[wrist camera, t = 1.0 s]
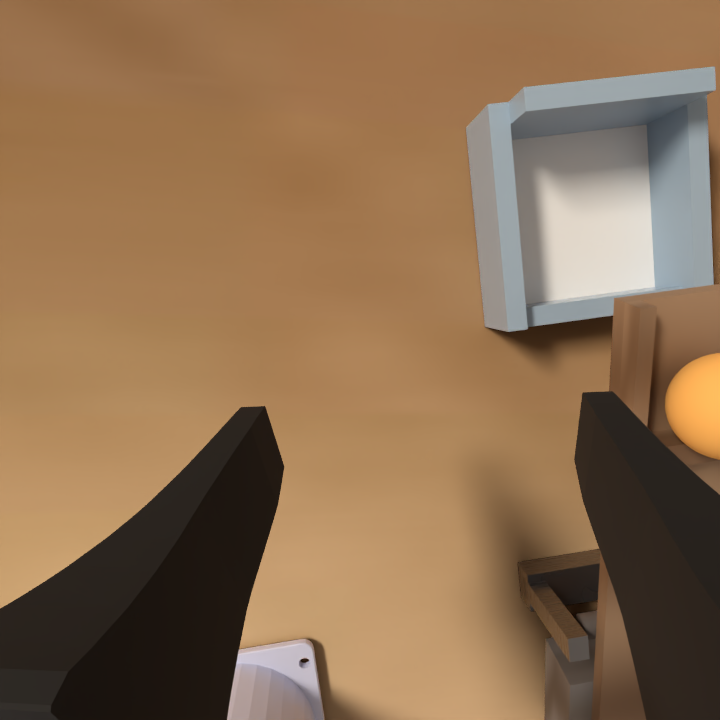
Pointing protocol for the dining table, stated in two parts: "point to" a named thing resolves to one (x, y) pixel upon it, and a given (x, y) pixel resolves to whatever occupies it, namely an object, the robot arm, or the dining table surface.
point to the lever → (647, 401)
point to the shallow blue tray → (591, 195)
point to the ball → (696, 405)
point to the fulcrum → (561, 595)
